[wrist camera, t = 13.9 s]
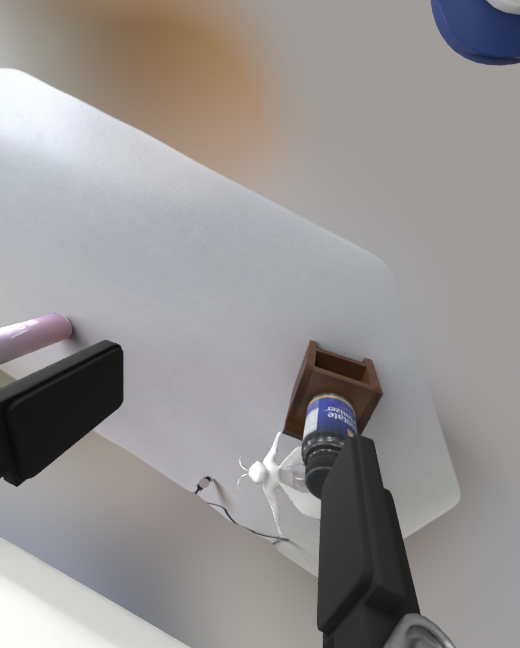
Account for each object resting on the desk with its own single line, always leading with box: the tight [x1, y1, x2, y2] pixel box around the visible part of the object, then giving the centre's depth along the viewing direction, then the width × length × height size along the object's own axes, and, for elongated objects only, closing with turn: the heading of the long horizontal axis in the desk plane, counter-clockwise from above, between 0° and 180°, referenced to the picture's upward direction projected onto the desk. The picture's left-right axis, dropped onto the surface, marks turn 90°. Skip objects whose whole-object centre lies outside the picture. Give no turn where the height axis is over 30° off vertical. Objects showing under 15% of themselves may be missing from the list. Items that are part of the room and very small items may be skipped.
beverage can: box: [0, 313, 72, 364], centre depth 47 cm, size 6×6×15 cm
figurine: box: [238, 432, 321, 538], centre depth 41 cm, size 16×11×20 cm
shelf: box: [283, 340, 383, 441], centre depth 36 cm, size 10×10×11 cm
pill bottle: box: [301, 393, 357, 500], centre depth 28 cm, size 6×6×11 cm
